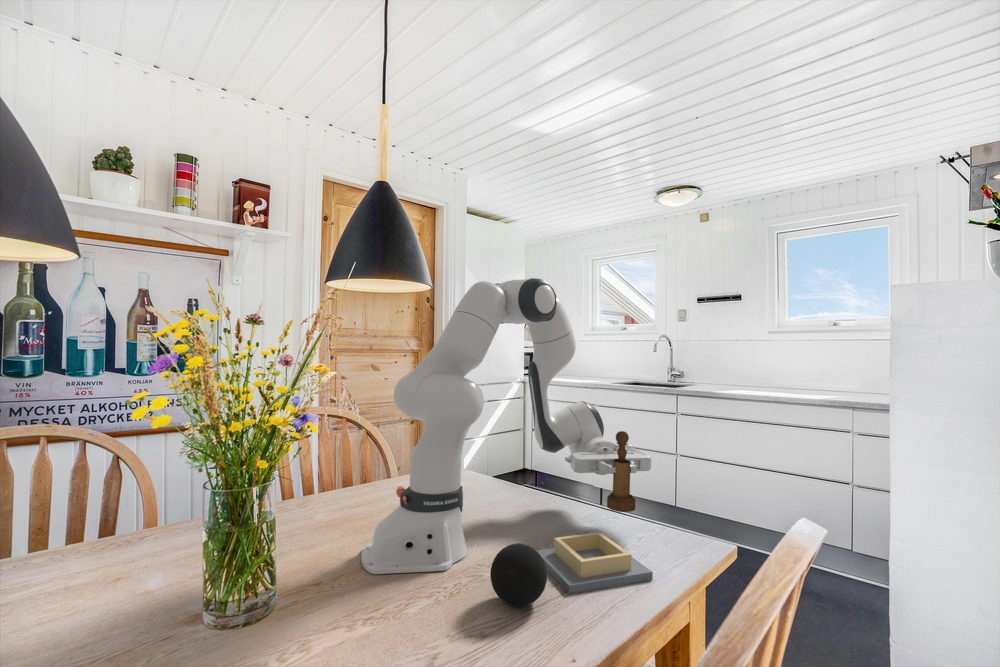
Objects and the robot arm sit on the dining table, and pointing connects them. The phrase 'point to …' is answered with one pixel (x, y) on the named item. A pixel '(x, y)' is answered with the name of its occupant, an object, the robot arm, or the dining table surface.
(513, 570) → the speaker
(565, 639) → the dining table surface
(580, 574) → the holder
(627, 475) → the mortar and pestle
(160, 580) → the dining table surface
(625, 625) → the dining table surface
